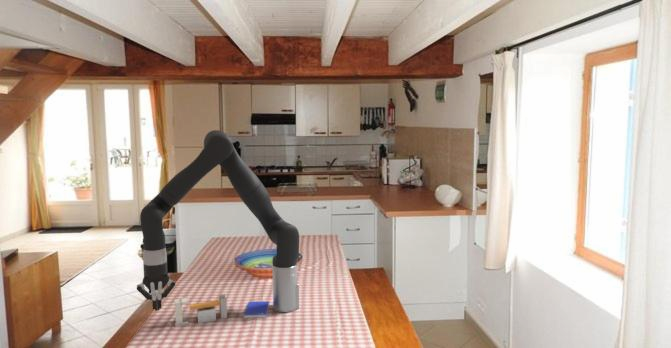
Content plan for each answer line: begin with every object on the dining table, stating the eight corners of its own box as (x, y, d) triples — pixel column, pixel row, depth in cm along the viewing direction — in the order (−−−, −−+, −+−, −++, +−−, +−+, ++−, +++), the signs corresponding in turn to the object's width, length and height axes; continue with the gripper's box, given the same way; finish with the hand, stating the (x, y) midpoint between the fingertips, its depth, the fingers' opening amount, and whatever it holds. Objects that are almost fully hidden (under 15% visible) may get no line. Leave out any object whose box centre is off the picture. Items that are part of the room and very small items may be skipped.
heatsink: (213, 313, 173) (213, 302, 172) (216, 320, 167) (215, 309, 166) (197, 316, 170) (196, 305, 170) (198, 323, 165) (198, 312, 164)
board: (225, 309, 179) (224, 289, 178) (231, 326, 165) (231, 304, 164) (173, 317, 172) (172, 296, 171) (175, 335, 158) (174, 312, 157)
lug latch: (188, 318, 168) (187, 297, 167) (189, 323, 165) (188, 301, 164) (175, 320, 167) (174, 299, 166) (176, 325, 163) (175, 303, 162)
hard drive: (266, 314, 172) (269, 301, 184) (243, 314, 172) (248, 301, 184) (266, 318, 172) (269, 305, 184) (243, 319, 172) (248, 305, 184)
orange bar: (225, 303, 172) (224, 298, 171) (226, 305, 170) (225, 300, 169) (189, 308, 167) (189, 303, 167) (190, 310, 165) (189, 306, 165)
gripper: (133, 266, 154) (136, 317, 156) (176, 262, 159) (178, 311, 161) (134, 259, 161) (136, 308, 163) (175, 255, 166) (176, 303, 168)
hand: (157, 309), depth 162 cm, fingers closed
